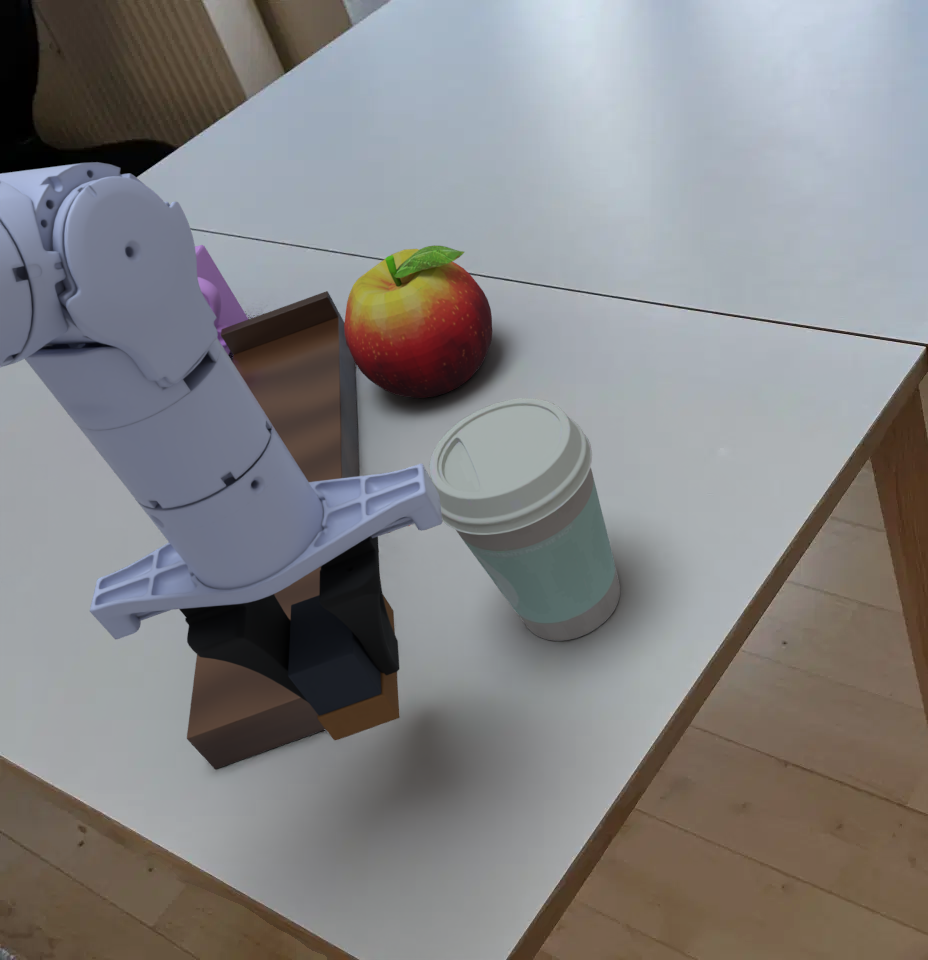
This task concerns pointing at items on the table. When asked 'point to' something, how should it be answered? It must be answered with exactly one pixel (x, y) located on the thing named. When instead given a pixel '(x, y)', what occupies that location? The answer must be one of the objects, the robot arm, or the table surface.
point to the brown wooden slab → (321, 456)
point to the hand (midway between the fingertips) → (353, 671)
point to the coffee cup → (530, 513)
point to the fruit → (418, 323)
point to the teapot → (217, 294)
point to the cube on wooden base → (338, 672)
